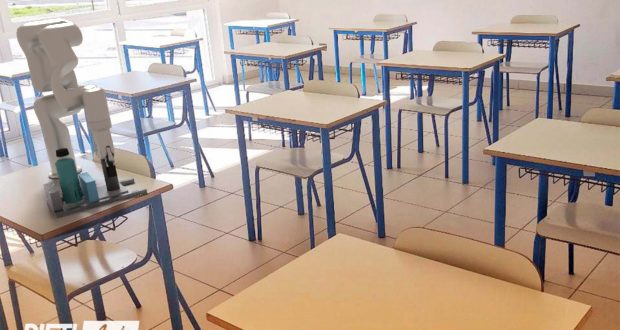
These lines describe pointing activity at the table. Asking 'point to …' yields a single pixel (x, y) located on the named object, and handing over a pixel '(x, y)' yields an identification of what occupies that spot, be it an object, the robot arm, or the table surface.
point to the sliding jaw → (102, 192)
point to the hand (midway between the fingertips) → (110, 174)
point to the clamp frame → (57, 207)
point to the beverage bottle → (68, 177)
